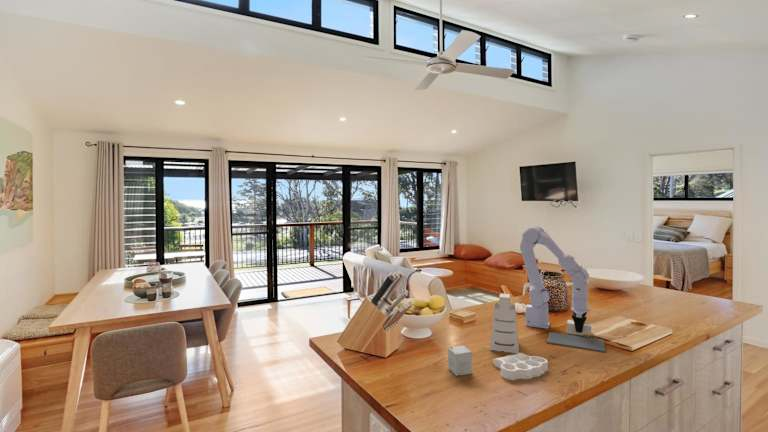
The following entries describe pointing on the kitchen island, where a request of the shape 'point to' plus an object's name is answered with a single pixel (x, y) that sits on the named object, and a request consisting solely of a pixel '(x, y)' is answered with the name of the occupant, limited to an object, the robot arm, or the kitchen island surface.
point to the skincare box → (460, 360)
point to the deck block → (572, 329)
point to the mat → (576, 341)
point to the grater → (504, 326)
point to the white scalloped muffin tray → (521, 366)
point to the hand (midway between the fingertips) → (579, 329)
